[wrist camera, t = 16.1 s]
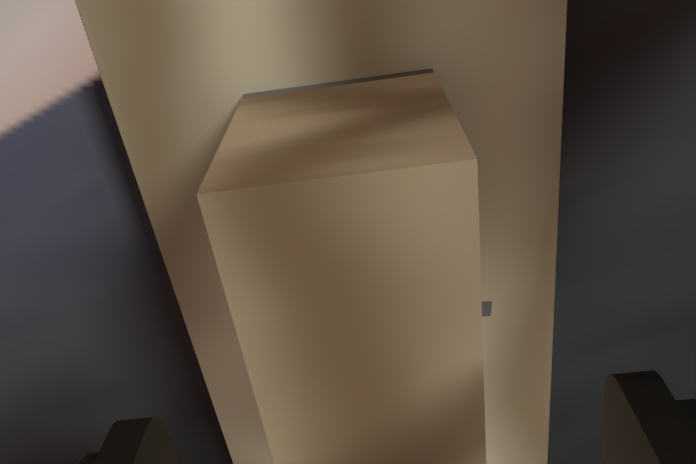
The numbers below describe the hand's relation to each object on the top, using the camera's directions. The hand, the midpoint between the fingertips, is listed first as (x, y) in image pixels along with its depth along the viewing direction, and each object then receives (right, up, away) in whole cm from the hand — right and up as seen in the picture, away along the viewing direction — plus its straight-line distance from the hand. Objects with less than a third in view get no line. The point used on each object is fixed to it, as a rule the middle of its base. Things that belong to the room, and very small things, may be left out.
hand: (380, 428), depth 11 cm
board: (0, +1, +10) cm, 11 cm away
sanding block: (0, +4, +7) cm, 8 cm away
